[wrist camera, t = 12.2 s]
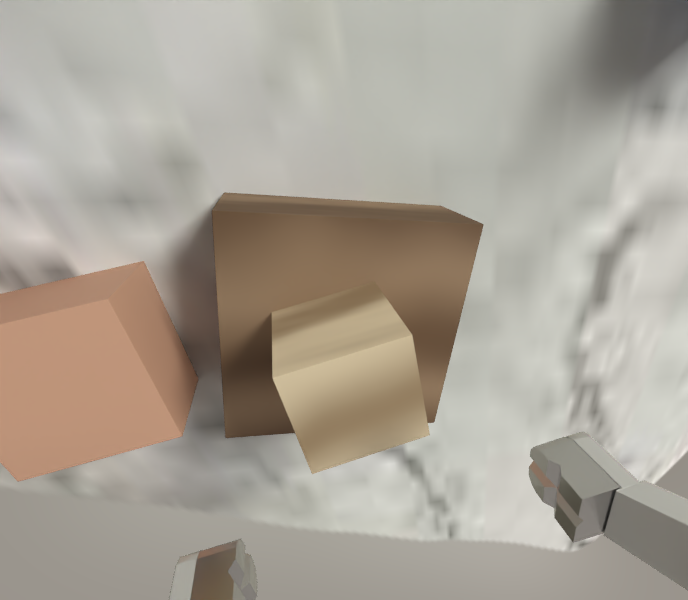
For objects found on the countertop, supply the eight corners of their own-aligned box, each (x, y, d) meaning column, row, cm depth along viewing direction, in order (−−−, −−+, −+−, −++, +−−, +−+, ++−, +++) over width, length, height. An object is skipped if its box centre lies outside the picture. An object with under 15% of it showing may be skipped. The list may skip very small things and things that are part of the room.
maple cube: (271, 312, 17) (272, 378, 12) (374, 281, 17) (412, 334, 12) (302, 393, 19) (311, 474, 14) (392, 364, 19) (429, 434, 15)
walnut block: (225, 191, 19) (211, 210, 14) (438, 204, 21) (483, 224, 17) (233, 380, 24) (225, 437, 19) (405, 372, 26) (434, 422, 22)
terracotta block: (-14, 296, 18) (-103, 348, 14) (145, 259, 19) (107, 298, 15) (68, 410, 22) (18, 481, 18) (198, 376, 23) (182, 436, 18)
